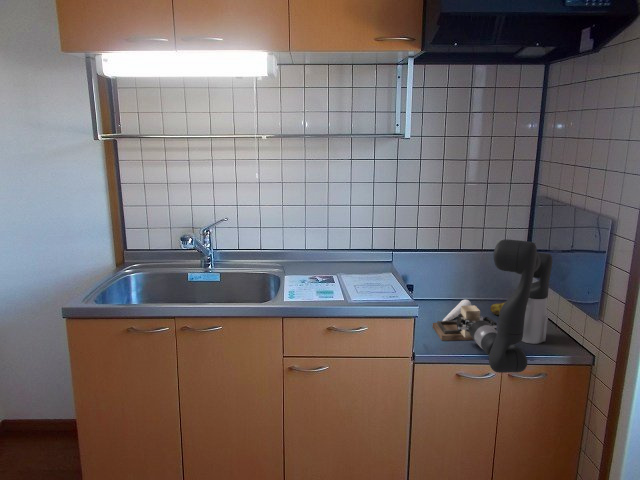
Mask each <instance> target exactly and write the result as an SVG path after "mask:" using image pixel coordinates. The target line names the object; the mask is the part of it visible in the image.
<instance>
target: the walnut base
mask: <svg viewBox="0 0 640 480" xmlns="http://www.w3.org/2000/svg"><path fill="white" fill-rule="evenodd" d="M432 329H433V331H434V332H435V333H436V334H437V336H438V337H439V339H440V340H441V342H442V341H465V340H466V341H468V340H469V341H470V340H473V341H474V339H473V338H472V337H467V338H465V337H464V336H463V335H462V334H461V332H459V331H458V329H457V319H456V320H450V321H443V320H437V321H436V322H432Z"/></svg>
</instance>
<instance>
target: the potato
mask: <svg viewBox="0 0 640 480" xmlns="http://www.w3.org/2000/svg"><path fill="white" fill-rule="evenodd" d="M505 302H506V301H504V302H502V303H501V302H498V303H493V304H492V305H490V309H489V310H490V311H491V313H492V314H493V315H496V316H499V313H500V310H501V308H502V306H503V305H504V303H505Z"/></svg>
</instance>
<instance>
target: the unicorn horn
mask: <svg viewBox="0 0 640 480" xmlns="http://www.w3.org/2000/svg"><path fill="white" fill-rule="evenodd" d="M461 306H473V304H472V302H471V301H470V300H469V299H462V300H461V301H460V302H459V303H458V304H457V305H456V306H455V307H454V308H453V309H452V310H450V312H449V313H448V314H446V316H445V317H443V319H442V321H453V320H455V318H456V319H457V318H458V315H459V314H461Z"/></svg>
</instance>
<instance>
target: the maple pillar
mask: <svg viewBox="0 0 640 480" xmlns="http://www.w3.org/2000/svg"><path fill="white" fill-rule="evenodd" d="M461 314H462V315H463V316H464V318H466V319H468V318H469V319H470V320H472V321H479V318H480V316H481V310H480V308H478V307H477V305H473V304H472V306H461ZM461 334H462V335H463V336H464V337H465V338H467V337H471V335H470V333H469V332H468V331H466V330H462V331H461Z"/></svg>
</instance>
